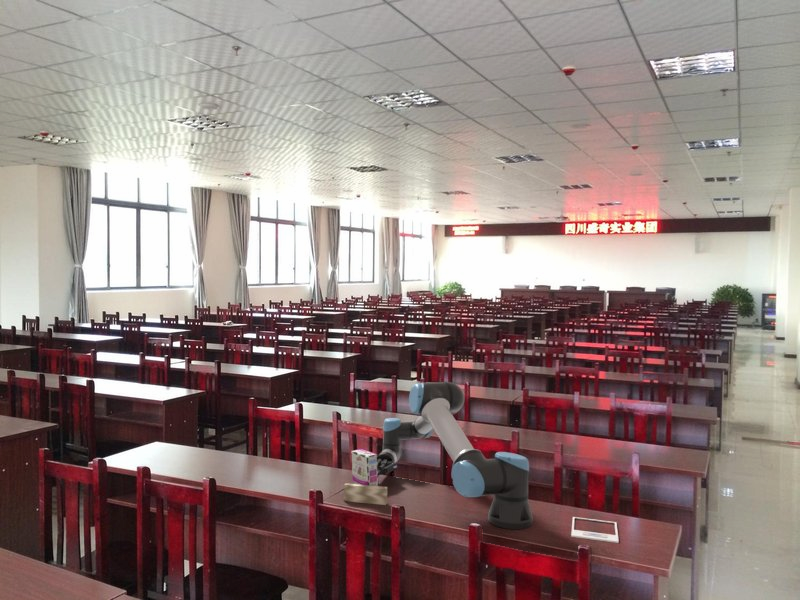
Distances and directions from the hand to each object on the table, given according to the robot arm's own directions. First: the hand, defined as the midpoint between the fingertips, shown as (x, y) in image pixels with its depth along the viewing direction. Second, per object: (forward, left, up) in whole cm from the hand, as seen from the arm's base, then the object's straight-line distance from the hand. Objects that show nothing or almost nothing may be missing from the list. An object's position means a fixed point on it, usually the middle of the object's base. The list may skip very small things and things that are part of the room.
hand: (372, 475), depth 244 cm
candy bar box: (+2, +2, -7) cm, 7 cm away
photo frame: (-81, +15, -8) cm, 83 cm away
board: (0, +10, -7) cm, 12 cm away
